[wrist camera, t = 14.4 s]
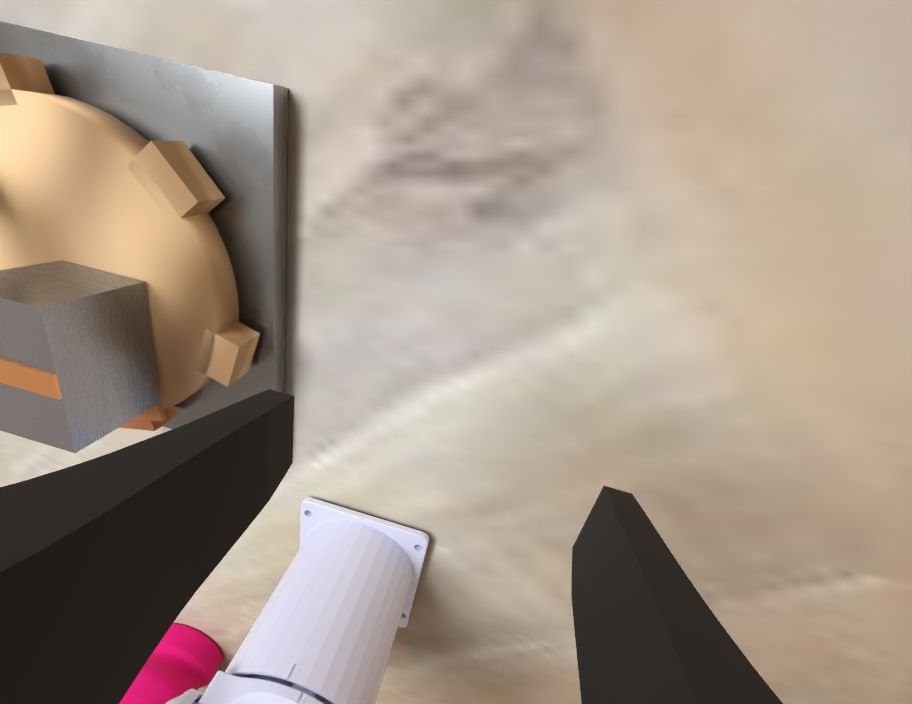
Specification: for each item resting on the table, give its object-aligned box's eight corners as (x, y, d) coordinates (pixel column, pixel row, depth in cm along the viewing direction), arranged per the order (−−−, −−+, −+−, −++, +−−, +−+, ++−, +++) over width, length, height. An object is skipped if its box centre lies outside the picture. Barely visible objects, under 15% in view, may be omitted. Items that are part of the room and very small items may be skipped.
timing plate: (283, 448, 24) (271, 462, 23) (23, 370, 25) (0, 380, 24) (288, 88, 16) (269, 83, 15) (-99, -2, 17) (-142, -12, 16)
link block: (61, 259, 18) (-67, 281, 14) (145, 281, 17) (37, 308, 14) (86, 381, 20) (-17, 427, 16) (160, 402, 20) (72, 454, 16)
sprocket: (299, 208, 16) (195, 232, 11) (222, 454, 23) (137, 534, 18) (-85, -13, 15) (-375, -90, 10) (-46, 312, 22) (-210, 357, 17)
